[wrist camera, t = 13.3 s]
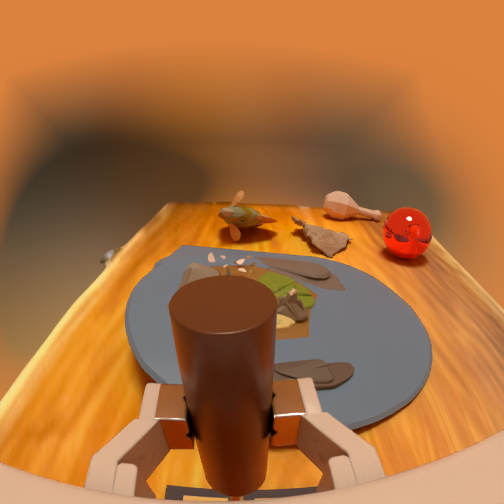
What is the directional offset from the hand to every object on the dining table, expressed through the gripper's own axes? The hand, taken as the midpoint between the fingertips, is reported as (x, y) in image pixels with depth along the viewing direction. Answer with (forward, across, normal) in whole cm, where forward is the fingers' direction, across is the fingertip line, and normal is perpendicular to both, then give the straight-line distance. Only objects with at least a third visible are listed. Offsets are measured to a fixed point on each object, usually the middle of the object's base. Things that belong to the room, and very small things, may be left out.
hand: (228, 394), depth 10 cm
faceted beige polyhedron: (+81, -38, +22) cm, 92 cm away
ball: (+54, -41, +22) cm, 71 cm away
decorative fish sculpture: (+69, -5, +22) cm, 73 cm away
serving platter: (+31, -8, +22) cm, 39 cm away
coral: (+64, -22, +22) cm, 71 cm away
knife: (-1, 0, +12) cm, 13 cm away
